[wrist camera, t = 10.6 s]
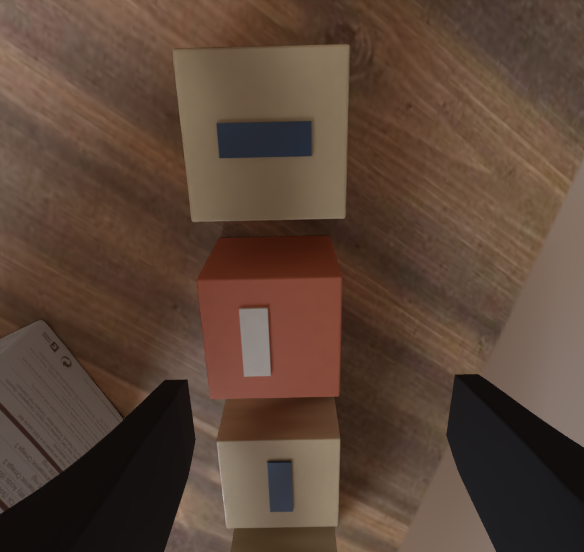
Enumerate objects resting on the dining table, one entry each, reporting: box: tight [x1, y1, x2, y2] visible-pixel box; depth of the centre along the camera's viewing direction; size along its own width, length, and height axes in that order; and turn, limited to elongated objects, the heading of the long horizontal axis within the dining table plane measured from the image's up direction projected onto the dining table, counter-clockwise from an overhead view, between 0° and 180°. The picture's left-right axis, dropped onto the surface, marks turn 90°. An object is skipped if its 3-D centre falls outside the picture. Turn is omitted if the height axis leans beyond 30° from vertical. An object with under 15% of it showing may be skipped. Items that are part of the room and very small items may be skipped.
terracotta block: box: [197, 235, 343, 399], centre depth 18 cm, size 5×5×5 cm
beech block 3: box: [231, 526, 337, 552], centre depth 23 cm, size 5×5×5 cm
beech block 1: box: [172, 44, 350, 222], centre depth 15 cm, size 5×5×5 cm
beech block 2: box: [216, 397, 340, 528], centre depth 20 cm, size 5×5×5 cm
